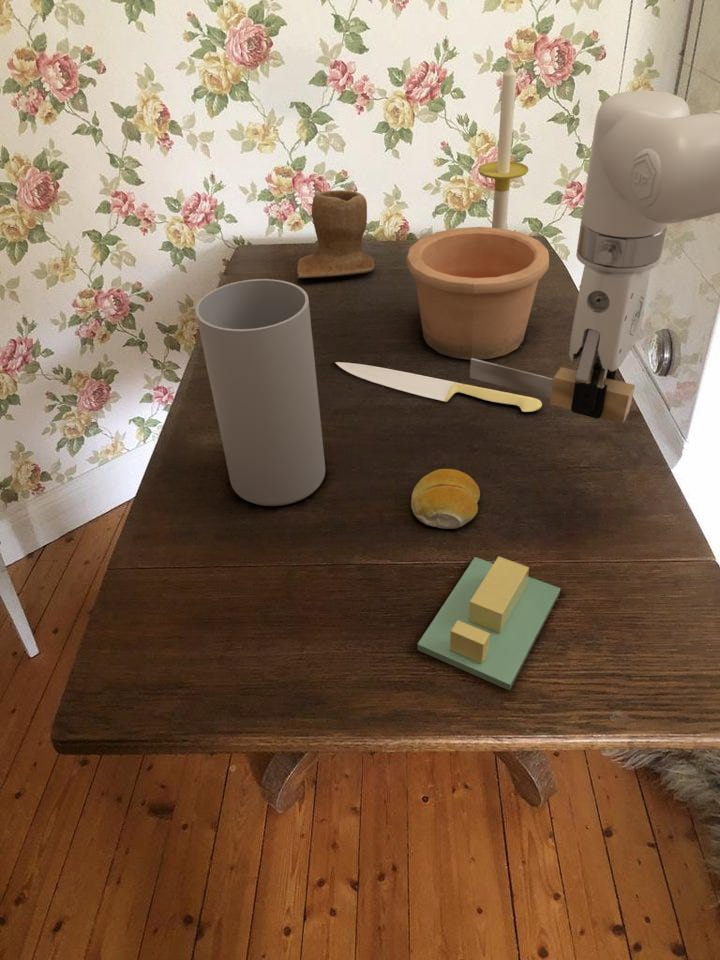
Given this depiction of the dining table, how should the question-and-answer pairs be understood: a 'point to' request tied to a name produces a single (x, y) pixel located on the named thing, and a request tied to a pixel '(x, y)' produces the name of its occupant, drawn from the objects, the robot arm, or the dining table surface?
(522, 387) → the wooden handled knife
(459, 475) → the bread roll
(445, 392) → the knife
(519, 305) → the pottery
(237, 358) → the cylinder vase
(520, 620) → the butter dish
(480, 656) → the butter slice
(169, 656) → the dining table surface
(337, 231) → the stone cup
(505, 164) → the candle
